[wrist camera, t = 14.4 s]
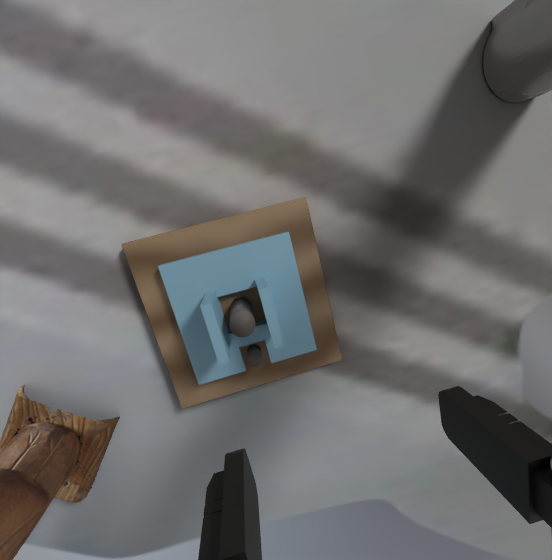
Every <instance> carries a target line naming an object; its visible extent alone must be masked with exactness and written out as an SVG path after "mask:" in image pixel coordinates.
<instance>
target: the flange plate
mask: <svg viewBox="0 0 552 560" xmlns="http://www.w3.org/2000/svg"><path fill="white" fill-rule="evenodd" d="M158 268H159V271H160V274H161V277H162V280H163V283H164V286H165V288H166V291H167V294H168V297H169V300H170V303H171V306H172V309H173V312H174V314H175V317H176V320H177V323H178V326H179V329H180V332H181V335H182V338H183V341H184V343H185V346H186V349H187V352H188V355H189V358H190V361H191V364H192V367H193V370H194V372H195V375H196V378H197V381H198V384H199V385H201V384H204V383H207V382H211V381H214V380H217V379H221V378H224V377H227V376H231V375H234V374H237V373H241V372H244V371H246V365H245V361H244V358H243V355H242V351H241V348H240V347H242V346H246V345H249V344H252V343H256V342H259V341H263V340H265V342H266V346H267V349H268V353H269V356H270V360H271V363H274V362H278V361H281V360H284V359H288V358H291V357H294V356H298V355H301V354H304V353H308V352H311V351H315V350H317V348H316V344H315V340H314V336H313V331H312V327H311V323H310V319H309V315H308V310H307V306H306V302H305V298H304V293H303V289H302V285H301V281H300V276H299V272H298V268H297V264H296V260H295V255H294V251H293V247H292V243H291V238H290V234H289V232H284V233H280V234H276V235H272V236H268V237H264V238H261V239H257V240H253V241H249V242H245V243H242V244H238V245H234V246H230V247H226V248H222V249H219V250H215V251H211V252H207V253H203V254H200V255H196V256H192V257H188V258H184V259H180V260H177V261H173V262H169V263H165V264H161V265H159V266H158ZM253 287H257V289H258V293H259V297H260V300H261V304H262V308H263V311H264V315H265V319H266V320H264V321H261V322H257V323H255V329H254V331H253V333H252V334H251V335H249V336H247V337H237V336H235V335H234V334H233V333H232V332H231V330H228V326H227V323H226V320H225V317H224V313H223V310H222V307H221V303H220V300H219V297H220V296H224V295H228V294H231V293H235V292H239V291H242V290H246V289H250V288H253Z"/></svg>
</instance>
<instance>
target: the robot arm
mask: <svg viewBox="0 0 552 560" xmlns="http://www.w3.org/2000/svg"><path fill="white" fill-rule="evenodd" d="M492 24H493V27H492V32H491V34H490V36H489V38H488V41H487V43H486V47H485V50H484V58H483V66H484V73H485V77H486V81H487V83H488V85H489V87H490V88H491V90H492V91H493V92H494V93H495V94H496V95H497V96H498V97H499V98H501V99H503V100H505V101H507V102H513V103H517V102H523V101H526V100H529V99H531V98H534V97H536V96H539V95H542V94H544V93H547V92H548V91H551V90H552V0H515V1H513V2H512V3H511V4H510V5H508V6H507V7H506V8H505V9H503V10H502V11H501V12H500V13H498V14H497V15H496V16H495V17H494V18H493V19H492ZM439 405H440V413H441V422H442V426H443V429H444V431H445V433H446V435H447V436H448V438H449V439H450V440H451V441H452V443H453V444H454V445H455V446H456V447H457V448H458V449H459V450H460V451H461V452H462V453H463V454H464V455H465V456H466V457H467V458H468V459H469V460H470V461H471V463H472V464H473V465H474V466H475V467H476V468H477V469H478V470H479V471H480V472H481V473H482V474H483V475H484V476H485V477H486V478H487V479H488V480H489V482H490V483H491V484H492V485H493V486H494V487H495V488H496V489H497V490H498V491H499V492H500V493H501V494H502V495H503V496H504V497H505V498H506V499H507V500H508V502H509V503H510V504H511V505H512V506H513V507H514V508H515V509H516V510H517V511H518V512H519V513H520V514H521V515H522V516H523V517H524V518H525V519H526V520H527V522H528V523H529V524H532V523H535V522H538V521H541V520H544V521H545V522H546V523H547V524H548V525H549V526H550V527H551V535H552V444H551V443H550V442H548V441H547V440H545V439H544V438H543V437H541V436H540V435H538V434H537V433H536V432H534V431H533V430H532V429H530V428H529V427H527V426H526V425H525V424H523V423H522V422H519V421H518V419H516V418H515V417H514V416H512V415H511V414H508V413H507V411H505V410H504V409H503V408H501V407H500V406H498V405H497V404H496V403H494V402H492V401H490V400H487V399H485V398H483V397H480V396H474V397H473V396H472V395H471V394H469V393H468V392H467V391H465V390H464V389H463V388H461V387H459V386H457V387H453V388H450V389H446V390H443V391H440V392H439ZM261 553H262V552H261V537H260V522H259V507H258V494H257V488H256V483H255V479H254V476H253V472H252V469H251V466H250V463H249V459H248V456H247V453H246V450H245V449H240V450H237V451H234V452H230V453H227V454H226V455H225V464H224V471H221V472H217V473H214V475H213V477H212V479H211V481H210V483H209V485H208V487H207V492H206V500H205V508H204V518H203V525H202V533H201V542H200V550H199V559H198V560H262V554H261Z"/></svg>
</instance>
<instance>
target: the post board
mask: <svg viewBox="0 0 552 560" xmlns="http://www.w3.org/2000/svg"><path fill="white" fill-rule="evenodd" d="M284 232H289V234H290V238H291V243H292V247H293V251H294V255H295V260H296V264H297V268H298V272H299V276H300V281H301V285H302V289H303V293H304V298H305V302H306V306H307V310H308V315H309V319H310V323H311V327H312V331H313V336H314V340H315V344H316V348H317V350H315V351H311V352H308V353H304V354H301V355H298V356H294V357H291V358H288V359H284V360H281V361H278V362H274V363H271V360H270V356H269V353H268V349H267V346H266V342H265V340H263V341H259V342H256V343H252V344H249V345H246V346H242V347H240V348H241V351H242V355H243V358H244V361H245V365H246V371H244V372H241V373H237V374H234V375H231V376H227V377H224V378H221V379H217V380H214V381H211V382H207V383H204V384H201V385H199V384H198V381H197V378H196V375H195V372H194V370H193V367H192V364H191V361H190V358H189V355H188V352H187V349H186V346H185V343H184V341H183V338H182V335H181V332H180V329H179V326H178V323H177V320H176V317H175V314H174V312H173V309H172V306H171V303H170V300H169V297H168V294H167V291H166V288H165V286H164V283H163V280H162V277H161V274H160V271H159V268H158V266H159V265H161V264H165V263H169V262H173V261H177V260H180V259H184V258H188V257H192V256H196V255H200V254H203V253H207V252H211V251H215V250H219V249H222V248H226V247H230V246H234V245H238V244H242V243H245V242H249V241H253V240H257V239H261V238H264V237H268V236H272V235H276V234H280V233H284ZM121 245H122V248H123V250H124V253H125V256H126V258H127V261H128V264H129V267H130V269H131V272H132V275H133V277H134V280H135V283H136V285H137V288H138V291H139V294H140V296H141V299H142V302H143V304H144V307H145V310H146V312H147V315H148V318H149V321H150V323H151V326H152V329H153V331H154V334H155V337H156V339H157V342H158V345H159V348H160V350H161V353H162V356H163V358H164V361H165V364H166V366H167V369H168V372H169V375H170V377H171V380H172V383H173V385H174V388H175V391H176V393H177V396H178V399H179V402H180V404H181V407H182V409H183V408H186V407H190V406H193V405H196V404H199V403H203V402H206V401H209V400H212V399H216V398H219V397H222V396H225V395H229V394H232V393H235V392H239V391H242V390H245V389H248V388H252V387H255V386H258V385H261V384H265V383H268V382H271V381H275V380H278V379H281V378H284V377H288V376H291V375H294V374H297V373H301V372H304V371H307V370H311V369H314V368H317V367H320V366H324V365H327V364H330V363H333V362H337V361H340V360H342V359H341V354H340V349H339V345H338V340H337V336H336V331H335V327H334V322H333V318H332V313H331V309H330V304H329V300H328V295H327V290H326V286H325V281H324V277H323V272H322V268H321V263H320V259H319V254H318V250H317V245H316V241H315V236H314V231H313V227H312V222H311V218H310V213H309V209H308V204H307V200H306V197H303V198H300V199H296V200H292V201H288V202H284V203H280V204H276V205H272V206H268V207H264V208H260V209H257V210H253V211H249V212H245V213H241V214H237V215H233V216H229V217H225V218H221V219H217V220H214V221H210V222H206V223H202V224H198V225H194V226H190V227H186V228H182V229H178V230H175V231H171V232H167V233H163V234H159V235H155V236H151V237H147V238H143V239H139V240H135V241H132V242H128V243H124V244H121ZM219 300H220V303H221V307H222V310H223V313H224V317H225V320H226V323H227V326H228V330H231V332H232V333H233V334H234V335H235V336H237V337H247V336H249V335H251V334H252V333H253V331H254V329H255V323H257V322H261V321H264V320H266V319H265V315H264V311H263V308H262V304H261V300H260V297H259V293H258V289H257V287H253V288H250V289H246V290H242V291H239V292H235V293H231V294H228V295H224V296H220V297H219Z"/></svg>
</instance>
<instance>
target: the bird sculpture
mask: <svg viewBox="0 0 552 560" xmlns="http://www.w3.org/2000/svg"><path fill="white" fill-rule="evenodd" d="M24 386H25V385H23V386H22V387H20V388H19V390H18V392H17V395H16V398H15V401H14V404H13V407H12V410H11V412H10V415H9V418H8V421H7V424H6V427H5V429H4V432H3V435H2V438H1V441H0V560H12V559H13V558H14V557H15V555H16V554H17V553H18V551H19V549H20V548H21V546H22V545H23V544H24V542H25V541H26V539H27V538H28V536H29V535H30V534H31V532H32V530H33V529H34V527H35V526H36V525H37V523H38V521H39V520H40V518H41V517H42V515H43V514H44V512H45V511H46V509H47V507H48V506H49V504H50V503H51V501H52V500H53V499H54V498H60V497H61V498H60V499H64V500H67V501H71V502H79V501H81V500H83V499H84V498H85V497H86V496H87V494H88V492H89V491H90V489H91V488H92V487H91V486H92V484H93V482H94V480H95V477H96V475H97V472H98V470H99V467H100V463H101V462H102V459H103V457H104V454H105V452H106V449H107V447H108V445H109V444H108V443H109V441H110V439H111V437H112V434H113V432H114V431H113V430H114V429H115V427H116V424H117V422H118V420H119V418H120V417H117V418H114V419H108V420H100V421H93V420H92V419H90V420H88V419H87V418H84V417H80V416H77V415H74V414H71V413H69V412H64V411H62V410H57V412H50V410H49V413H47V411H48V410H47V409H46V408H49V407H47V406H45V405H42V404H40V403H37V402H35V401H30V400H29V398H28V397H27V396H26V395H25V394H24ZM29 404H30V405H29ZM31 405H32V406H31ZM62 412H63V415H64V416H65V417H66V418H67V419H64V418H63V417H62V415H61V413H62ZM57 413H59V415H60V416H59V417H57ZM48 415H49V416H48ZM67 415H69V416H70V415H72V417H67ZM52 416H56V417H55V418H54V419H55V420H54V419H52V418H51V417H52ZM35 417H37V418H35ZM46 418H48V420H46ZM49 419H50V420H49ZM52 420H54V422H53V423H54V424H52ZM62 420H63V421H62ZM31 421H33V422H36V423H32V424H31V423H30V422H31ZM18 428H19V431H18V430H17V429H18ZM16 432H18V434H17V435H15V433H16ZM14 435H15V436H14ZM78 436H80V440H79V437H78ZM81 443H82V445H81ZM86 444H87V445H86ZM80 451H81V452H80ZM77 461H79V462H77ZM76 463H77V465H76ZM72 470H73V471H72ZM65 483H66V485H65ZM68 489H70V490H68ZM62 493H63V494H62ZM59 496H60V497H59Z"/></svg>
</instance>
